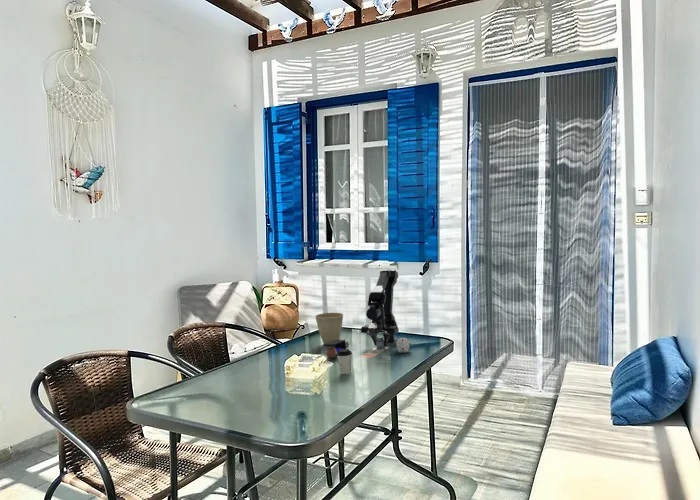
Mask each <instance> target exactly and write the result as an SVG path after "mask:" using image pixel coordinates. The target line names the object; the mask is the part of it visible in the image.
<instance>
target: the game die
mask: <svg viewBox="0 0 700 500" xmlns="http://www.w3.org/2000/svg"><path fill="white" fill-rule="evenodd" d="M396 338H397V340H396V341H395V345H394V347H396V350H397V352H398V354H400V353H408V354H409V353H410V348H411V346H412V343H410V341H409V339H408V338H409V336H406V337H399V336H396Z"/></svg>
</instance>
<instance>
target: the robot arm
mask: <svg viewBox="0 0 700 500" xmlns="http://www.w3.org/2000/svg"><path fill="white" fill-rule="evenodd" d="M398 278H399V272H398V271H397V270H396V269H381V270H380V271H379V277H378V279H377V282H376V285H375V287H373V288H372V289H371V291H370V293H369V296H368V300H367V306H368V307H369V308H368V309H367V310H366V312H365V313H366V314H365V315H366V317H367V319H369V320H371V323H370V324H365V325H363V326H361V327H360V333H361V334H367V335H369V336H370V337H371V340H372V342H373V344H374V346H375V347H376V340H377V337H378V334H379V332H383V334H382V335H383V336H382V337H383V340H384V346H385V347H387V345H388V343H389V344H393V343H396V342H397V339H398V338H397V339H396V337H395V335H396V334H397V333H399V327H398V323H397V321H396V317H395V316H394V313H393V306H394V305H393V304H394V303H393V301H394V300H393V299H394V288H395V287H394V286H395V285H396V284H397V281H398Z"/></svg>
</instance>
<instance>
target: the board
mask: <svg viewBox="0 0 700 500" xmlns="http://www.w3.org/2000/svg"><path fill="white" fill-rule="evenodd" d="M388 348H389V346H386V347H385V349H376V347H374V348H372V349H371V350H369V351H367V352H366V353H364V354H362V355H360V356H359V358H365V359H372V358H374V357H375V356H377V355H379V354H380V353H382V352H383V351H385V350H387V349H388Z"/></svg>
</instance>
